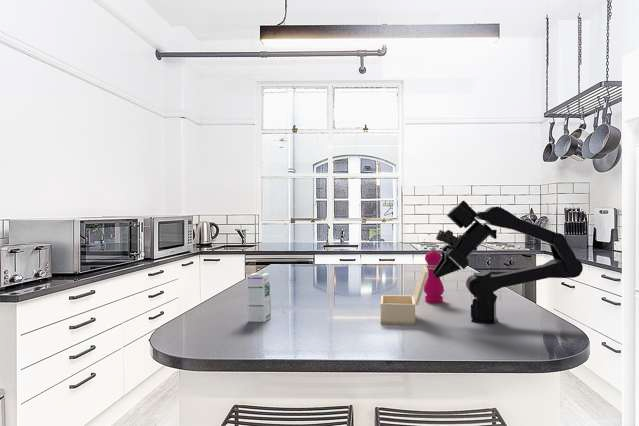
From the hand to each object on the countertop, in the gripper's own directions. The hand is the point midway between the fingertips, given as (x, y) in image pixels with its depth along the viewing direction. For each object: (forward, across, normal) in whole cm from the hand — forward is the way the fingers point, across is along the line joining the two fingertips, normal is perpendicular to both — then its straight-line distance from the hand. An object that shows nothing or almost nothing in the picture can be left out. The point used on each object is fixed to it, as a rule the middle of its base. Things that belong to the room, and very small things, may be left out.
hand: (434, 275), depth 142 cm
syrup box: (+48, +5, -29) cm, 56 cm away
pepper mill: (+8, -28, +11) cm, 32 cm away
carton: (+18, 0, +2) cm, 18 cm away
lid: (+5, 0, -1) cm, 6 cm away
